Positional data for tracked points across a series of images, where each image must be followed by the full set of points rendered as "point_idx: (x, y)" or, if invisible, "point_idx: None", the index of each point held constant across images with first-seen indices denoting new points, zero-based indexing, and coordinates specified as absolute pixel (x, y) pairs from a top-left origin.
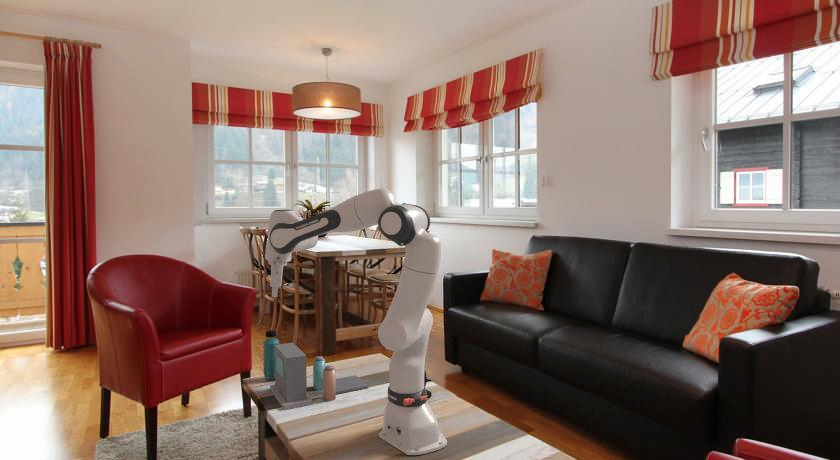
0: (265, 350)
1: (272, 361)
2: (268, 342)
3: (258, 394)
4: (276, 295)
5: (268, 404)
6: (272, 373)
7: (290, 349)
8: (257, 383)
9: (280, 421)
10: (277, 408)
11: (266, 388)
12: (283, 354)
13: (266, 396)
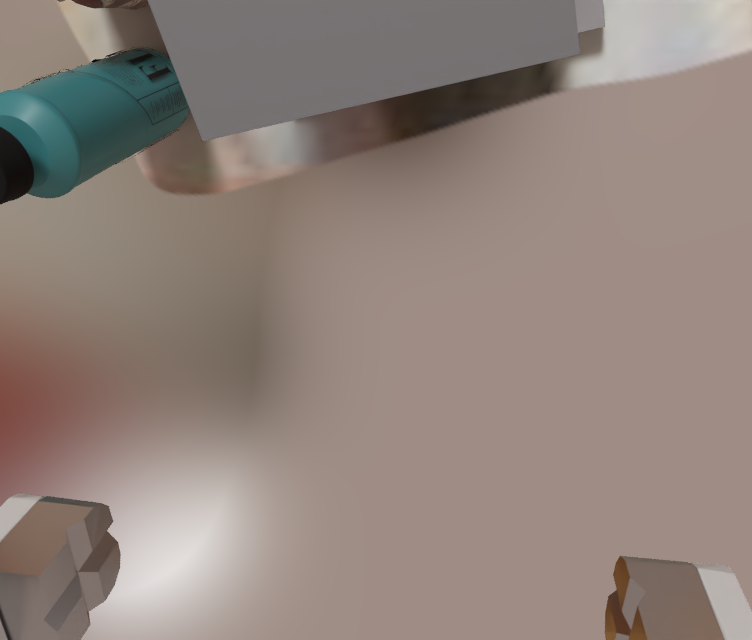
0: (98, 170)
1: (140, 110)
2: (66, 169)
3: (353, 154)
4: (742, 602)
5: (494, 107)
6: (180, 94)
7: (336, 14)
8: (213, 158)
9: (746, 46)
10: (564, 61)
11: None
12: (461, 78)
13: (387, 116)
